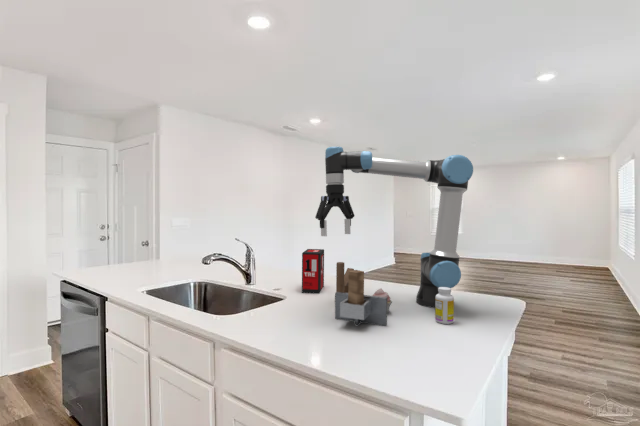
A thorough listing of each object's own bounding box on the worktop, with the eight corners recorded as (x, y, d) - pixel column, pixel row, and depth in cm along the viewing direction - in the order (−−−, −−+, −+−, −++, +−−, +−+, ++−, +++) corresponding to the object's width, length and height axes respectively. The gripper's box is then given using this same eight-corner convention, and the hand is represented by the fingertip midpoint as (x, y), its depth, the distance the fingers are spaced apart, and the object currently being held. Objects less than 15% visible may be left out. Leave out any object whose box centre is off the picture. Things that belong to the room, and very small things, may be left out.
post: (355, 309, 136) (356, 269, 135) (363, 312, 133) (364, 271, 132) (348, 311, 133) (348, 271, 133) (356, 314, 130) (356, 272, 130)
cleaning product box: (319, 293, 180) (319, 253, 179) (301, 293, 181) (302, 253, 181) (323, 286, 196) (324, 249, 196) (307, 285, 198) (307, 248, 197)
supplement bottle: (453, 320, 140) (454, 287, 140) (453, 325, 134) (454, 290, 134) (435, 318, 143) (435, 285, 142) (434, 323, 136) (435, 289, 136)
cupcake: (396, 312, 150) (396, 288, 150) (384, 317, 143) (384, 292, 143) (377, 307, 156) (377, 284, 156) (364, 312, 149) (364, 288, 149)
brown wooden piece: (353, 298, 171) (354, 260, 171) (341, 303, 162) (341, 263, 162) (347, 297, 173) (347, 259, 173) (334, 302, 165) (334, 262, 164)
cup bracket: (387, 324, 135) (387, 297, 135) (379, 333, 125) (379, 304, 125) (336, 317, 143) (337, 291, 143) (325, 325, 133) (326, 298, 133)
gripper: (349, 185, 163) (350, 232, 163) (306, 184, 147) (307, 236, 147) (361, 184, 157) (363, 233, 158) (318, 183, 141) (319, 237, 141)
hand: (336, 235), depth 152 cm, fingers open, 13 cm apart
